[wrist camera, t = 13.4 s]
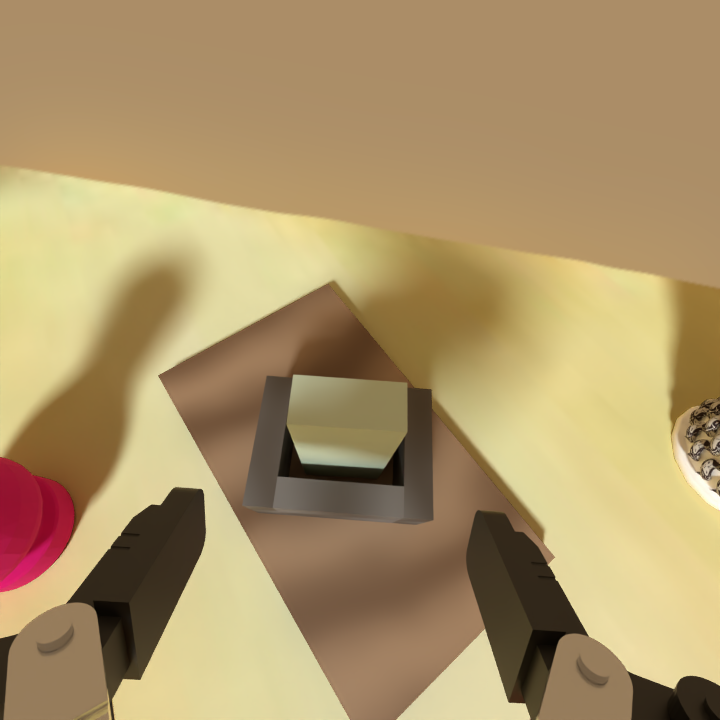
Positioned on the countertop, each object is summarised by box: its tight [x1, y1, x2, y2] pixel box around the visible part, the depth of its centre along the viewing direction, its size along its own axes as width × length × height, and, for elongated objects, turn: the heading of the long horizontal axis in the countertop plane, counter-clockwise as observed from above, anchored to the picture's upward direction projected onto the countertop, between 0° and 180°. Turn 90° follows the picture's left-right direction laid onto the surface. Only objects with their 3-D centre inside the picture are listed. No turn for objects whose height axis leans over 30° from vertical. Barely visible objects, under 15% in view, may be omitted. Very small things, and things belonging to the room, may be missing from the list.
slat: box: [286, 375, 407, 479], centre depth 20 cm, size 4×2×11 cm, turn 87°
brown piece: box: [158, 284, 555, 720], centre depth 23 cm, size 14×24×6 cm, turn 36°
